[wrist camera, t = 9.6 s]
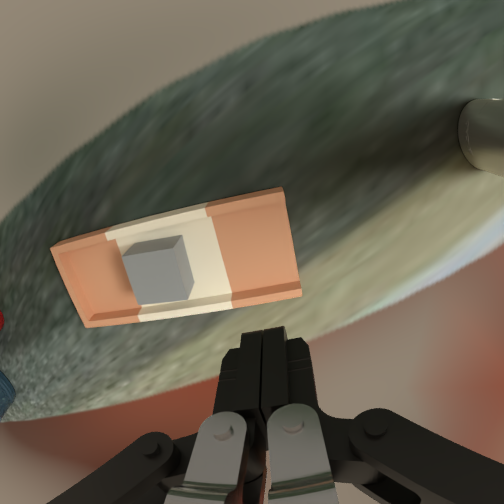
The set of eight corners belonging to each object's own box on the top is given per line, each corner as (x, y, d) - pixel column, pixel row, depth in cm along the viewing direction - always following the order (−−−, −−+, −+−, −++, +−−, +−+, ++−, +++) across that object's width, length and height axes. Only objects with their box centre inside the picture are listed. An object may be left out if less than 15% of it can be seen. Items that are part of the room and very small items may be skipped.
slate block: (182, 234, 34) (173, 248, 31) (194, 282, 37) (187, 299, 33) (134, 242, 35) (121, 256, 31) (148, 288, 37) (138, 305, 33)
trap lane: (281, 186, 33) (283, 191, 30) (300, 285, 37) (302, 296, 35) (59, 241, 36) (49, 248, 33) (93, 318, 40) (85, 328, 38)
